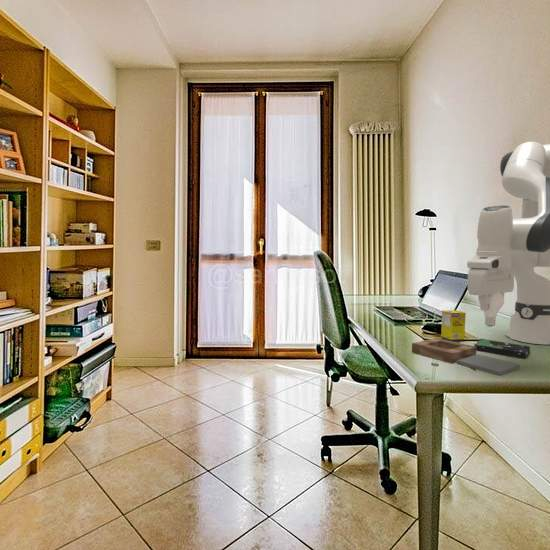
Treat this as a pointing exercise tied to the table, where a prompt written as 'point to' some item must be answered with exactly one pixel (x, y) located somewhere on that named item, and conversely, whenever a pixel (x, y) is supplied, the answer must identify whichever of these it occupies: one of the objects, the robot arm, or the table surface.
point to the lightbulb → (493, 308)
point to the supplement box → (453, 325)
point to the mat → (488, 364)
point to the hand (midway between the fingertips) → (490, 308)
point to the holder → (443, 349)
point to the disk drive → (503, 348)
